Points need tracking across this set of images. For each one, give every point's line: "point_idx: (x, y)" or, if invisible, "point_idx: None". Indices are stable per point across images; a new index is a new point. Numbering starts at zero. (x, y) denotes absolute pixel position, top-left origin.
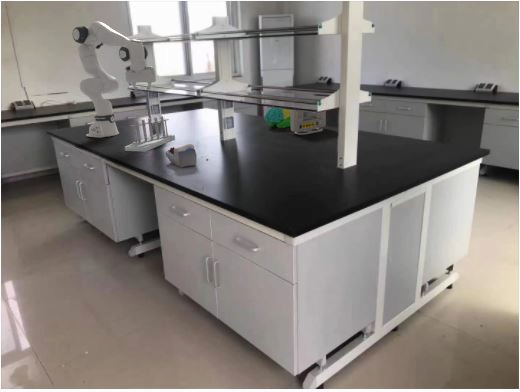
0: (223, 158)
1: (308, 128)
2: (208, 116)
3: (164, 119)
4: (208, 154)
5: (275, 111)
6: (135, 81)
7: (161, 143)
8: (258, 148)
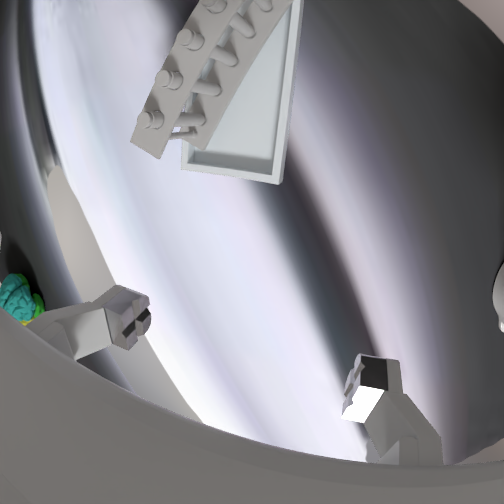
0: (31, 14)
1: None
2: None
3: (148, 132)
4: (51, 21)
5: (1, 292)
6: (320, 479)
7: None
8: (2, 100)
